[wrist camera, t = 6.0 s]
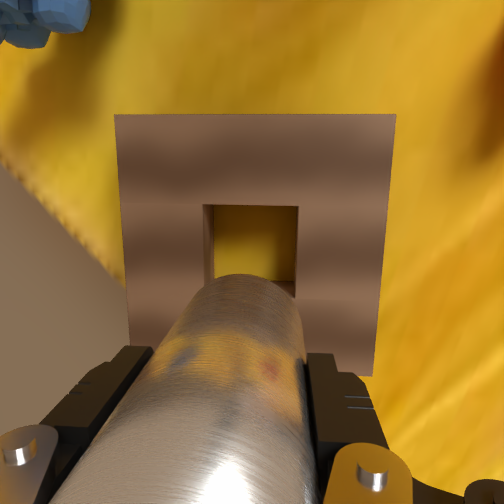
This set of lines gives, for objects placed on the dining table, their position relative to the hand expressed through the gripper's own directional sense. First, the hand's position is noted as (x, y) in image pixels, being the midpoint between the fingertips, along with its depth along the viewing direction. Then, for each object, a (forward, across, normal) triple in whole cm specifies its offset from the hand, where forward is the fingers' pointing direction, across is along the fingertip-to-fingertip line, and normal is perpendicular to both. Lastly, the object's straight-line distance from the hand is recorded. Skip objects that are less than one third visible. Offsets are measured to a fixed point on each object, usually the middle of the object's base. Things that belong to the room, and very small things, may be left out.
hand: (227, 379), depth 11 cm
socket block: (+19, +1, 0) cm, 19 cm away
